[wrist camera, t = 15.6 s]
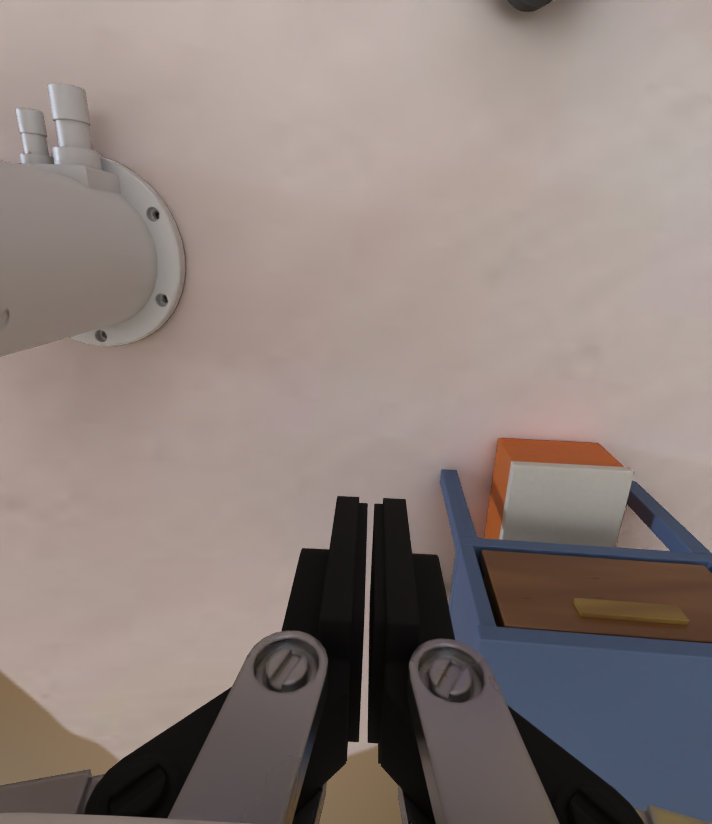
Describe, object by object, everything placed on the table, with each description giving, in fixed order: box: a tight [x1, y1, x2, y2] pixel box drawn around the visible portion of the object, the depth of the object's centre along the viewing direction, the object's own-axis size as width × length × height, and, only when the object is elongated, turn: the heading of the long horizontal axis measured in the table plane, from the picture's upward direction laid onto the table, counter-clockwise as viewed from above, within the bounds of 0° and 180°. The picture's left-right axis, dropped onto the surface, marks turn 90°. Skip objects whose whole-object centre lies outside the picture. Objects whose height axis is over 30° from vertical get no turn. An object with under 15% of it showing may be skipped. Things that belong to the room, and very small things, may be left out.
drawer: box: [480, 550, 712, 644], centre depth 26 cm, size 10×13×6 cm
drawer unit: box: [440, 470, 712, 823], centre depth 30 cm, size 12×15×17 cm
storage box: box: [484, 438, 634, 547], centre depth 34 cm, size 10×8×5 cm
